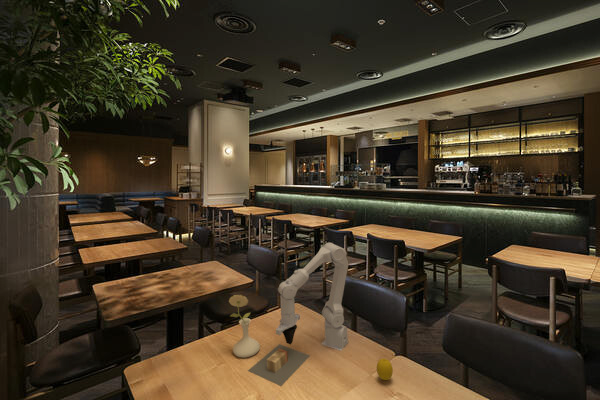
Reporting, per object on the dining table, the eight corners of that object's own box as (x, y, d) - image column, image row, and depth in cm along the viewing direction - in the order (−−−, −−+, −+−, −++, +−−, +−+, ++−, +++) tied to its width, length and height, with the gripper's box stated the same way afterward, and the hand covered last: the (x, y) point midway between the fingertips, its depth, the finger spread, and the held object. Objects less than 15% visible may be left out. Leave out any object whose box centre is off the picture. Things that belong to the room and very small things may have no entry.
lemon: (374, 375, 108) (374, 354, 107) (389, 373, 108) (389, 353, 107) (379, 386, 102) (379, 364, 101) (395, 384, 103) (395, 363, 102)
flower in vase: (264, 346, 128) (261, 291, 126) (252, 362, 118) (248, 302, 115) (238, 341, 133) (235, 288, 130) (224, 357, 122) (220, 299, 119)
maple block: (287, 351, 117) (275, 362, 110) (287, 360, 117) (275, 372, 110) (279, 348, 119) (266, 359, 112) (279, 357, 119) (267, 369, 113)
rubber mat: (310, 356, 120) (310, 355, 120) (281, 387, 103) (281, 386, 103) (279, 345, 129) (279, 344, 129) (247, 371, 112) (247, 370, 112)
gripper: (289, 302, 128) (291, 331, 129) (269, 316, 116) (270, 349, 117) (303, 305, 124) (304, 336, 125) (283, 321, 112) (285, 354, 113)
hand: (289, 342), depth 121 cm, fingers closed
